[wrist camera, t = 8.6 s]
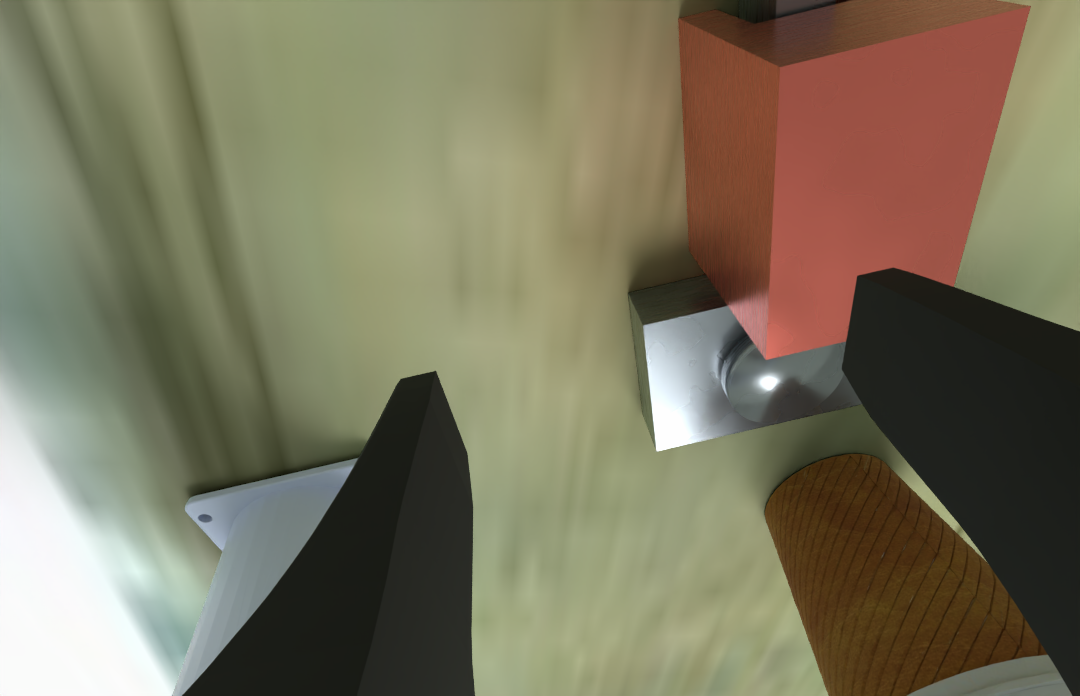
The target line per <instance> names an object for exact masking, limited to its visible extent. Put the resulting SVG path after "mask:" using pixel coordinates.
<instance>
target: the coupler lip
mask: <svg viewBox="0 0 1080 696" xmlns="http://www.w3.org/2000/svg"><path fill="white" fill-rule="evenodd" d="M834 4H835V0H739V16H738V18H740V19H743V20H745V21H748V22H750V23H753V24H757V23H761V22H765V21H769V20H773V19H777V18H781V17H785V16H789V15H793V14H798V13H802V12H806V11H810V10H814V9H818V8H822V7H826V6H830V5H834ZM628 298H629V306H630V314H631V322H632V331H633V339H634V347H635V355H636V363H637V371H638V379H639V388H640V396H641V404H642V412H643V417H644V419H645V422H646V425H647V427H648V430H649V432H650V435H651V438H652V440H653V443H654V446H655V448H656V451H660V450H665V449H669V448H673V447H678V446H682V445H686V444H691V443H695V442H699V441H704V440H708V439H713V438H717V437H721V436H726V435H730V434H734V433H739V432H743V431H747V430H752V429H756V428H760V427H765V426H769V425H774V424H778V423H782V422H787V421H791V420H795V419H800V418H804V417H808V416H813V415H817V414H821V413H826V412H830V411H835V410H839V409H843V408H848V407H852V406H856V405H861V404H862V403H861V401H860V399H859V398H858V396H857V395H856V393H855V391H854V390H853V388H852V386H851V384H850V383H849V381H848V379H847V378H846V376H845V374H844V372H843V371H842V363H843V357H844V351H845V345H846V341H845V342H841V343H837V344H832V345H828V346H824V347H819V348H815V349H811V350H807V351H802V352H798V353H794V354H789V355H785V356H781V357H777V358H772V359H768V360H765V358H764V357H763V355H762V354H761V352H760V351H759V350H758V348H757V347H756V345H755V344H754V342H753V341H752V340H751V338H750V337H749V335H748V334H747V332H746V331H745V330H744V328H743V327H742V325H741V324H740V323H739V321H738V320H737V318H736V317H735V315H734V314H733V313H732V311H731V310H730V308H729V307H728V305H727V304H726V303H725V301H724V300H723V298H722V297H721V296H720V294H719V293H718V291H717V290H716V288H715V287H714V286H713V284H712V283H711V281H710V280H709V278H708V277H707V276H706V275H702V276H698V277H694V278H690V279H685V280H681V281H677V282H673V283H668V284H664V285H660V286H656V287H651V288H647V289H643V290H639V291H634V292H630V293H628Z"/></svg>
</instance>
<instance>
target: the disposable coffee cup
mask: <svg viewBox="0 0 1080 696" xmlns="http://www.w3.org/2000/svg"><path fill="white" fill-rule="evenodd" d="M765 518H766V523H767V525H768V528H769V530H770V533H771V536H772V539H773V541H774V544H775V547H776V549H777V552H778V555H779V558H780V561H781V564H782V567H783V570H784V572H785V575H786V578H787V581H788V584H789V586H790V589H791V592H792V595H793V598H794V601H795V604H796V606H797V608H798V611H799V614H800V617H801V620H802V623H803V625H804V628H805V631H806V634H807V637H808V640H809V642H810V644H811V647H812V650H813V653H814V655H815V658H816V661H817V664H818V667H819V670H820V673H821V675H822V678H823V681H824V684H825V687H826V690H827V692H828V695H829V696H1072V694H1071V692H1070V691H1069V689H1068V687H1067V686H1066V684H1065V682H1064V681H1063V679H1062V677H1061V675H1060V674H1059V672H1058V670H1057V669H1056V667H1055V665H1054V664H1053V662H1052V661H1051V659H1050V657H1049V656H1048V654H1047V653H1046V651H1045V650H1044V648H1043V646H1042V645H1041V643H1040V642H1039V640H1038V639H1037V637H1036V635H1035V634H1034V632H1033V631H1032V629H1031V627H1030V626H1029V624H1028V623H1027V621H1026V620H1025V618H1024V616H1023V615H1022V613H1021V612H1020V610H1019V609H1018V607H1017V605H1016V604H1015V602H1014V601H1013V599H1012V598H1011V596H1010V595H1009V593H1008V592H1007V591H1006V589H1005V588H1004V586H1003V585H1002V583H1001V582H1000V580H999V579H998V577H997V576H996V574H995V573H994V571H993V570H992V568H991V567H990V565H989V564H988V563H987V562H986V561H985V560H984V559H983V558H982V557H981V556H980V555H979V554H977V553H976V552H975V550H974V549H973V548H972V547H971V546H970V545H968V544H967V543H966V542H965V541H964V540H963V538H961V537H960V536H959V535H958V534H957V533H956V532H955V531H954V530H953V529H952V528H951V527H950V526H949V525H948V524H947V523H946V522H945V521H944V520H943V519H942V518H941V517H939V515H938V514H937V513H936V512H935V511H934V510H932V509H931V508H930V507H929V506H928V504H927V503H925V502H924V501H923V500H922V499H921V498H920V497H919V496H918V495H917V494H916V493H915V492H914V491H913V490H912V489H911V488H910V487H909V486H908V485H907V484H906V483H905V482H904V481H903V480H902V479H901V478H900V477H899V476H898V475H897V474H896V473H895V472H894V471H893V470H892V469H891V468H890V467H889V466H888V465H887V464H886V463H885V462H884V461H882V460H880V459H878V458H877V457H874V456H871V455H864V454H846V455H841V456H835V457H831V458H827V459H824V460H821V461H818V462H816V463H814V464H811V465H809V466H807V467H805V468H803V469H802V470H800V471H798V472H797V473H795V474H794V475H792V476H791V477H789V478H788V479H787V480H785V481H784V482H783V483H782V484H781V485H780V486H779V487H778V488H777V489H776V490H775V492H774V493H773V494H772V496H771V497H770V499H769V501H768V503H767V505H766V510H765Z"/></svg>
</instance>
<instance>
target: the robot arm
mask: <svg viewBox="0 0 1080 696" xmlns="http://www.w3.org/2000/svg"><path fill="white" fill-rule="evenodd" d="M842 371H843V372H844V374H845V376H846V378H847V379H848V381H849V383H850V384H851V386H852V388H853V390H854V391H855V393H856V395H857V396H858V398H859V399H860V401H861V403H862V404H863V406H864V407H865V409H866V410H867V412H868V414H869V415H870V417H871V418H872V419H873V421H874V422H875V423H876V424H877V426H878V427H879V428H880V429H881V431H882V432H883V433H884V434H885V435H886V437H887V438H888V439H889V440H890V442H891V443H892V444H893V445H894V446H895V448H896V449H897V450H898V451H899V453H900V454H901V455H902V456H903V457H904V459H905V460H906V461H907V462H908V463H909V465H910V466H911V467H912V468H913V469H914V470H915V472H916V473H917V474H918V475H919V476H920V478H921V479H922V480H923V481H924V482H925V484H926V485H927V486H928V487H929V488H930V490H931V491H932V492H933V493H934V494H935V496H936V497H937V498H938V499H939V500H940V502H941V503H942V504H943V505H944V506H945V508H946V509H947V510H948V511H949V512H950V514H951V515H952V516H953V517H954V518H955V520H956V521H957V522H958V523H959V524H960V526H961V527H962V528H963V530H964V531H965V532H966V534H967V535H968V536H969V537H970V539H971V540H972V541H973V543H974V544H975V545H976V547H977V548H978V549H979V551H980V552H981V554H982V555H983V557H984V558H985V559H986V561H987V562H988V564H989V565H990V567H991V568H992V570H993V571H994V573H995V574H996V576H997V577H998V579H999V580H1000V582H1001V583H1002V585H1003V586H1004V588H1005V589H1006V591H1007V592H1008V593H1009V595H1010V596H1011V598H1012V599H1013V601H1014V602H1015V604H1016V605H1017V607H1018V609H1019V610H1020V612H1021V613H1022V615H1023V616H1024V618H1025V620H1026V621H1027V623H1028V624H1029V626H1030V627H1031V629H1032V631H1033V632H1034V634H1035V635H1036V637H1037V639H1038V640H1039V642H1040V643H1041V645H1042V646H1043V648H1044V650H1045V651H1046V653H1047V654H1048V656H1049V657H1050V659H1051V661H1052V662H1053V664H1054V665H1055V667H1056V669H1057V670H1058V672H1059V674H1060V675H1061V677H1062V679H1063V681H1064V682H1065V684H1066V686H1067V687H1068V689H1069V691H1070V692H1071V694H1072V696H1080V332H1079V331H1076V330H1073V329H1070V328H1067V327H1064V326H1061V325H1059V324H1056V323H1053V322H1050V321H1047V320H1044V319H1041V318H1038V317H1035V316H1033V315H1030V314H1027V313H1024V312H1021V311H1018V310H1016V309H1013V308H1010V307H1007V306H1005V305H1002V304H999V303H996V302H993V301H991V300H988V299H985V298H982V297H980V296H977V295H974V294H971V293H969V292H966V291H963V290H960V289H958V288H955V287H952V286H949V285H947V284H944V283H941V282H938V281H935V280H932V279H929V278H926V277H923V276H920V275H917V274H914V273H911V272H908V271H904V270H901V269H897V268H889V269H884V270H880V271H876V272H871V273H867V274H862V275H858V276H857V280H856V286H855V292H854V298H853V304H852V310H851V316H850V322H849V328H848V334H847V339H846V345H845V351H844V357H843V363H842ZM185 511H186V512H187V514H188V515H189V516H190V517H191V518H192V519H193V520H194V521H195V522H196V523H197V524H198V526H199V527H200V528H201V529H202V530H203V531H204V532H205V533H206V534H207V535H208V536H209V538H210V539H211V540H212V541H213V542H214V543H215V544H216V545H217V546H218V547H219V548H220V549H221V551H222V555H221V557H220V560H219V563H218V566H217V569H216V572H215V575H214V577H213V580H212V583H211V586H210V589H209V592H208V595H207V597H206V600H205V603H204V606H203V609H202V612H201V615H200V617H199V620H198V623H197V626H196V629H195V632H194V635H193V637H192V640H191V643H190V646H189V649H188V652H187V655H186V657H185V660H184V663H183V666H182V669H181V672H180V674H179V677H178V680H177V683H176V686H175V689H174V692H173V694H172V696H475V691H474V679H473V666H472V637H471V625H472V559H473V501H472V491H471V481H470V473H469V464H468V455H467V451H466V449H465V446H464V443H463V441H462V438H461V435H460V433H459V430H458V428H457V425H456V422H455V420H454V417H453V414H452V412H451V409H450V407H449V404H448V401H447V399H446V396H445V393H444V391H443V388H442V385H441V383H440V380H439V378H438V375H437V372H436V371H434V372H429V373H425V374H420V375H416V376H412V377H407V378H403V379H400V381H399V382H398V384H397V385H396V387H395V389H394V391H393V393H392V395H391V397H390V399H389V401H388V403H387V405H386V407H385V409H384V411H383V413H382V415H381V417H380V419H379V421H378V423H377V424H376V426H375V428H374V430H373V432H372V434H371V436H370V438H369V440H368V441H367V443H366V445H365V447H364V449H363V450H362V452H361V454H360V456H359V458H356V459H352V460H347V461H343V462H339V463H334V464H330V465H326V466H322V467H317V468H313V469H309V470H304V471H300V472H296V473H291V474H287V475H283V476H278V477H274V478H270V479H265V480H261V481H257V482H252V483H248V484H244V485H239V486H235V487H231V488H226V489H222V490H218V491H214V492H209V493H205V494H201V495H196V496H193V497H191V498H189V500H188V501H187V503H186V506H185Z"/></svg>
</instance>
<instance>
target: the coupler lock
mask: <svg viewBox="0 0 1080 696" xmlns="http://www.w3.org/2000/svg"><path fill="white" fill-rule="evenodd" d="M1030 7H1031V6H1026V5H1020V4H1014V3H1008V2H1003V1H997V0H835V4H834V5H830V6H826V7H822V8H818V9H814V10H810V11H806V12H802V13H798V14H793V15H789V16H785V17H781V18H777V19H773V20H769V21H765V22H761V23H757V24H753V23H750V22H748V21H745V20H743V19H740V18H737V17H735V16H732V15H729V14H727V13H724V12H721V11H719V10H716V9H715V10H711V11H707V12H703V13H699V14H695V15H691V16H687V17H683V18H678V23H679V44H680V66H681V87H682V108H683V129H684V151H685V172H686V193H687V214H688V235H689V251H690V253H691V254H692V256H693V257H694V259H695V260H696V261H697V263H698V264H699V266H700V267H701V268H702V270H703V271H704V273H705V274H706V276H707V277H708V278H709V280H710V281H711V283H712V284H713V286H714V287H715V288H716V290H717V291H718V293H719V294H720V296H721V297H722V298H723V300H724V301H725V303H726V304H727V305H728V307H729V308H730V310H731V311H732V313H733V314H734V315H735V317H736V318H737V320H738V321H739V323H740V324H741V325H742V327H743V328H744V330H745V331H746V332H747V334H748V335H749V337H750V338H751V340H752V341H753V342H754V344H755V345H756V347H757V348H758V350H759V351H760V352H761V354H762V355H763V357H764V358H765V360H768V359H772V358H777V357H781V356H785V355H789V354H794V353H798V352H802V351H807V350H811V349H815V348H819V347H824V346H828V345H832V344H837V343H841V342H845V341H846V339H847V334H848V328H849V322H850V316H851V310H852V304H853V298H854V292H855V286H856V280H857V276H858V275H862V274H867V273H871V272H876V271H880V270H884V269H889V268H897V269H901V270H904V271H908V272H911V273H914V274H917V275H920V276H923V277H926V278H929V279H932V280H935V281H938V282H941V283H944V284H947V285H949V286H952V287H954V284H955V280H956V276H957V273H958V269H959V265H960V262H961V258H962V254H963V251H964V247H965V244H966V240H967V236H968V233H969V229H970V225H971V222H972V218H973V214H974V211H975V207H976V204H977V200H978V196H979V193H980V189H981V185H982V182H983V178H984V174H985V171H986V167H987V163H988V160H989V156H990V153H991V149H992V145H993V142H994V138H995V134H996V131H997V127H998V123H999V120H1000V116H1001V113H1002V109H1003V105H1004V102H1005V98H1006V94H1007V91H1008V87H1009V83H1010V80H1011V76H1012V72H1013V69H1014V65H1015V62H1016V58H1017V54H1018V51H1019V47H1020V43H1021V40H1022V36H1023V32H1024V29H1025V25H1026V22H1027V18H1028V14H1029V11H1030Z"/></svg>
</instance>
